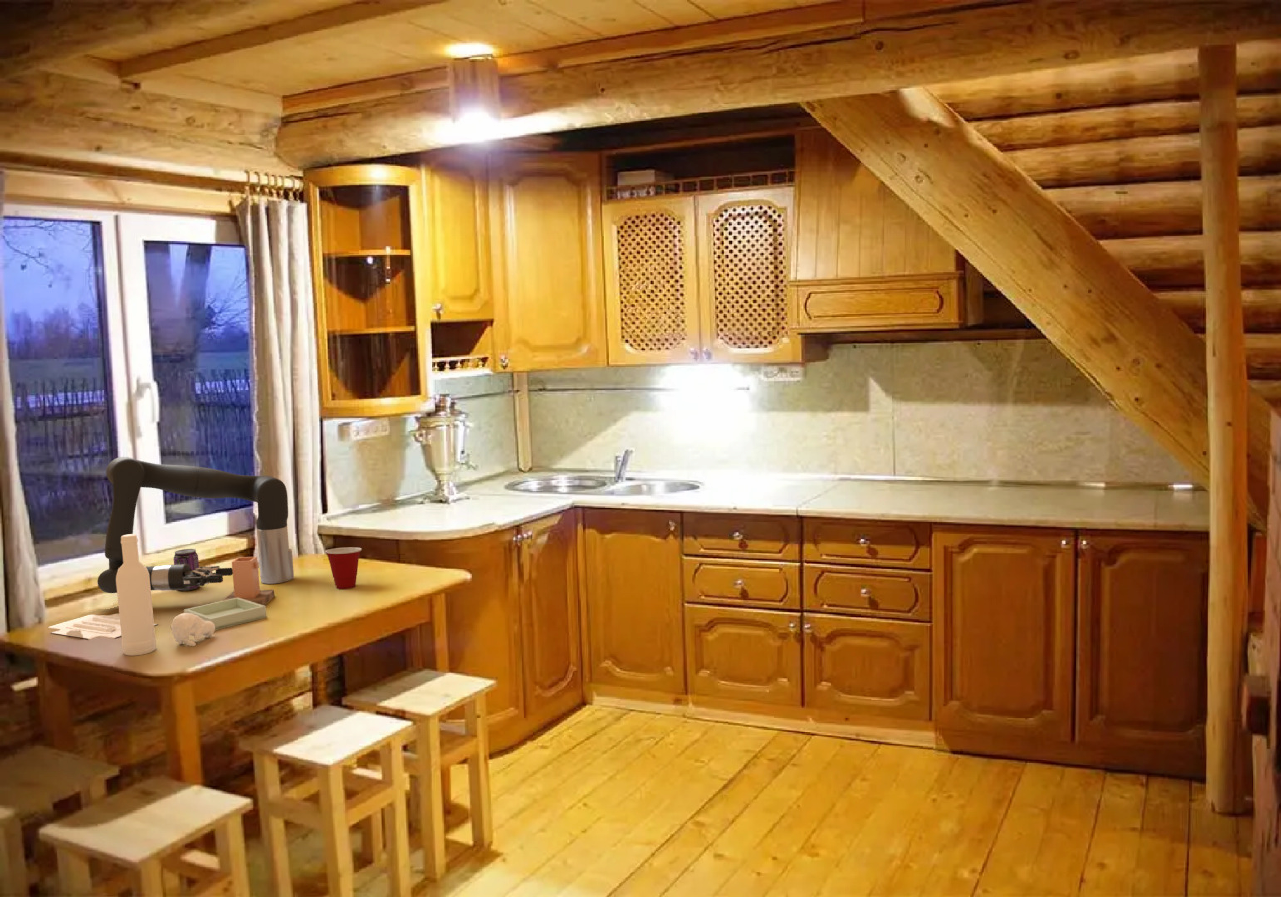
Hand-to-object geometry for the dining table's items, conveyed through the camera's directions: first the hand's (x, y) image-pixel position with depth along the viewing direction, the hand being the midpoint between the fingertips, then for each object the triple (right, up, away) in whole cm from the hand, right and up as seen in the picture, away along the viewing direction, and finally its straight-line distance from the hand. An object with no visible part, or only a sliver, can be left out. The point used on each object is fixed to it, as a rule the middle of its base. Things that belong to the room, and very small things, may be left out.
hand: (227, 575), depth 329 cm
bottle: (-6, -15, -43) cm, 46 cm away
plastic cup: (+31, -6, +16) cm, 35 cm away
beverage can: (-20, -7, +21) cm, 30 cm away
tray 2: (-27, -13, -19) cm, 36 cm away
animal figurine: (+6, -13, -37) cm, 39 cm away
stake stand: (+6, -8, +1) cm, 10 cm away
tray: (+6, -10, -16) cm, 20 cm away
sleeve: (+6, -6, +1) cm, 8 cm away
